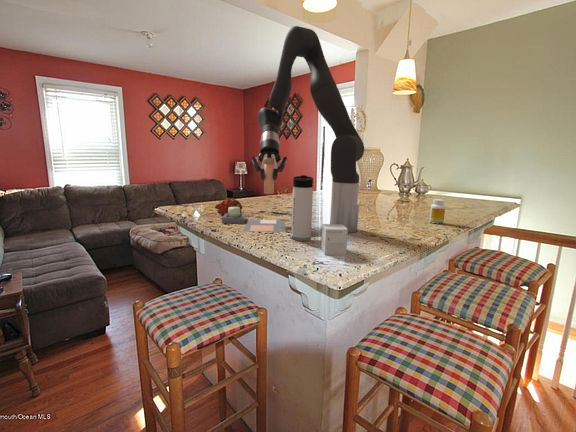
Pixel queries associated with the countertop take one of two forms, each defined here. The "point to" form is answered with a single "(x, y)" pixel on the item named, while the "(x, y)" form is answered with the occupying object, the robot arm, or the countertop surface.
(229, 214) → the button
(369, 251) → the countertop surface
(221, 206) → the dragon fruit
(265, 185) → the tan tall block
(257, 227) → the board
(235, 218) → the button housing
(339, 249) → the product box
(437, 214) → the supplement bottle
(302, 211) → the travel mug
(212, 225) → the countertop surface
